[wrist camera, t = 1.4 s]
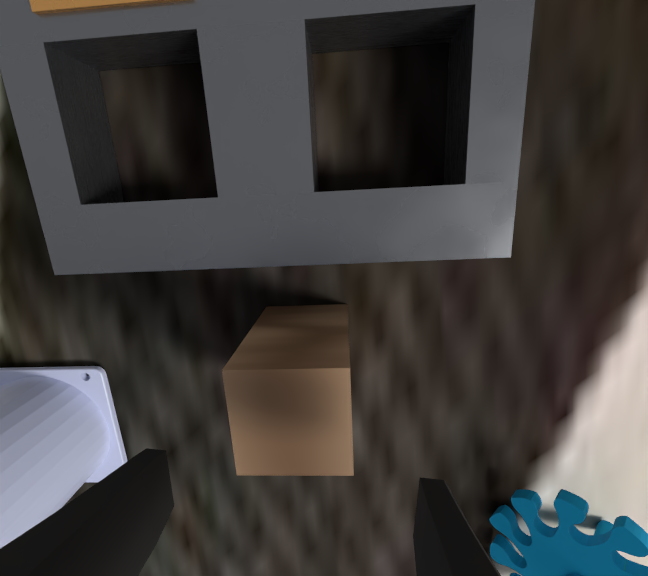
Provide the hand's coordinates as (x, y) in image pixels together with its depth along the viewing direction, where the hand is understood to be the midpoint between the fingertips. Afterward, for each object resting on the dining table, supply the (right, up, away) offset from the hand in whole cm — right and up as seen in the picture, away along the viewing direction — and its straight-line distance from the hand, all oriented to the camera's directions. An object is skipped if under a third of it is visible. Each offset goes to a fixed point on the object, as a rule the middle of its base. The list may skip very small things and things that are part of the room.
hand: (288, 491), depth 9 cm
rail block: (-1, +13, +6) cm, 15 cm away
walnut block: (0, +3, +9) cm, 10 cm away
